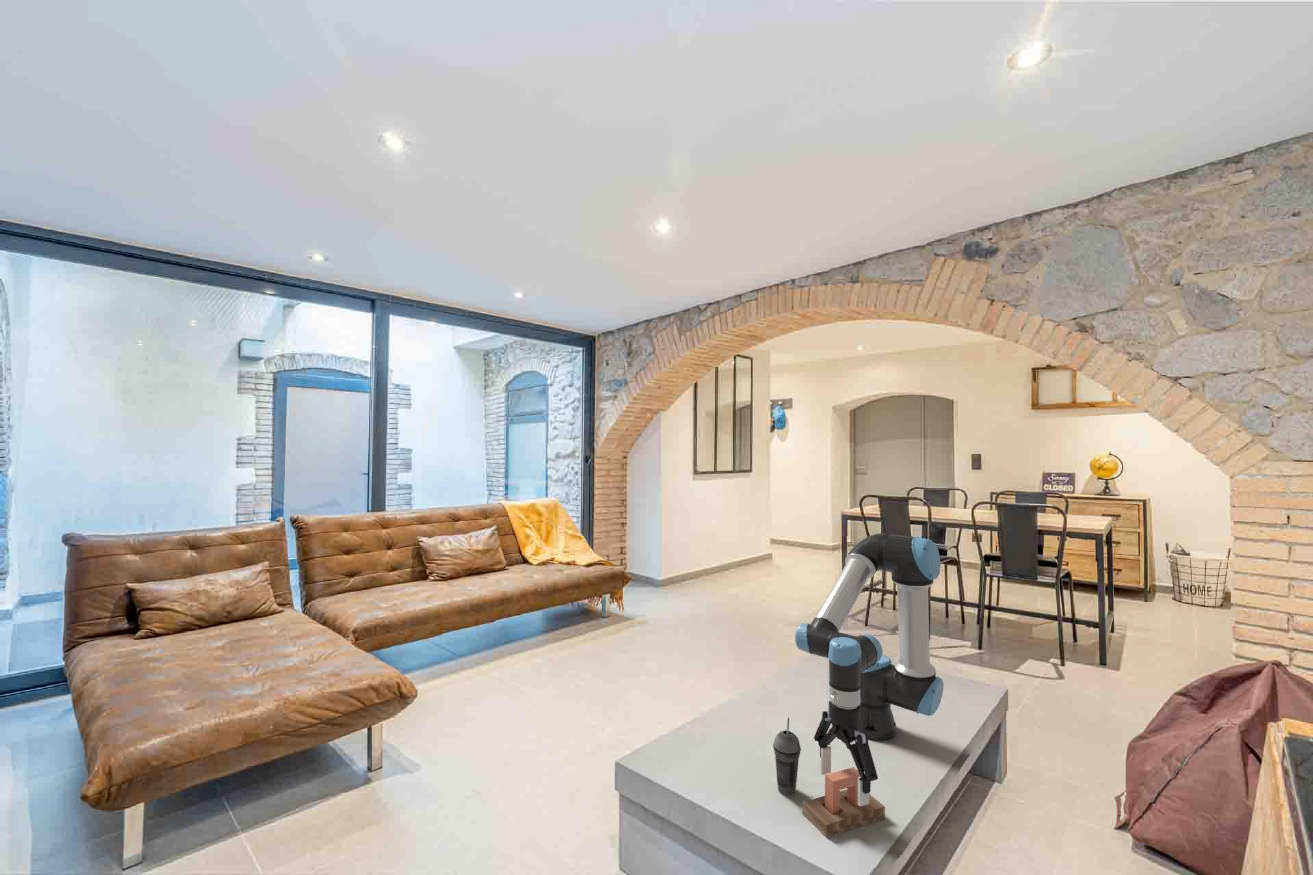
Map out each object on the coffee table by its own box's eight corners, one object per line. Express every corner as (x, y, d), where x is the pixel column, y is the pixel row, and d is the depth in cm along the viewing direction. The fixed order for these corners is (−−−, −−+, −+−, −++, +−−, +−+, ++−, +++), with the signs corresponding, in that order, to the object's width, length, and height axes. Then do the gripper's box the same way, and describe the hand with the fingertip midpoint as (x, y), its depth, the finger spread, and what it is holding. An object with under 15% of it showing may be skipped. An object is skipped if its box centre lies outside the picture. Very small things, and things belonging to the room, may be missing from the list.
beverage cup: (796, 781, 155) (796, 708, 155) (804, 798, 148) (804, 722, 148) (769, 782, 155) (770, 709, 155) (776, 799, 148) (777, 722, 148)
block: (853, 808, 144) (853, 766, 144) (861, 815, 142) (862, 773, 142) (824, 816, 141) (825, 774, 141) (832, 824, 138) (833, 781, 138)
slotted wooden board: (859, 797, 149) (859, 785, 149) (884, 818, 140) (884, 806, 140) (802, 813, 142) (802, 801, 142) (826, 837, 134) (826, 824, 134)
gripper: (801, 684, 151) (800, 764, 151) (869, 729, 128) (868, 823, 128) (823, 680, 154) (823, 758, 154) (894, 723, 131) (893, 814, 131)
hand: (843, 787), depth 141 cm, fingers open, 13 cm apart
